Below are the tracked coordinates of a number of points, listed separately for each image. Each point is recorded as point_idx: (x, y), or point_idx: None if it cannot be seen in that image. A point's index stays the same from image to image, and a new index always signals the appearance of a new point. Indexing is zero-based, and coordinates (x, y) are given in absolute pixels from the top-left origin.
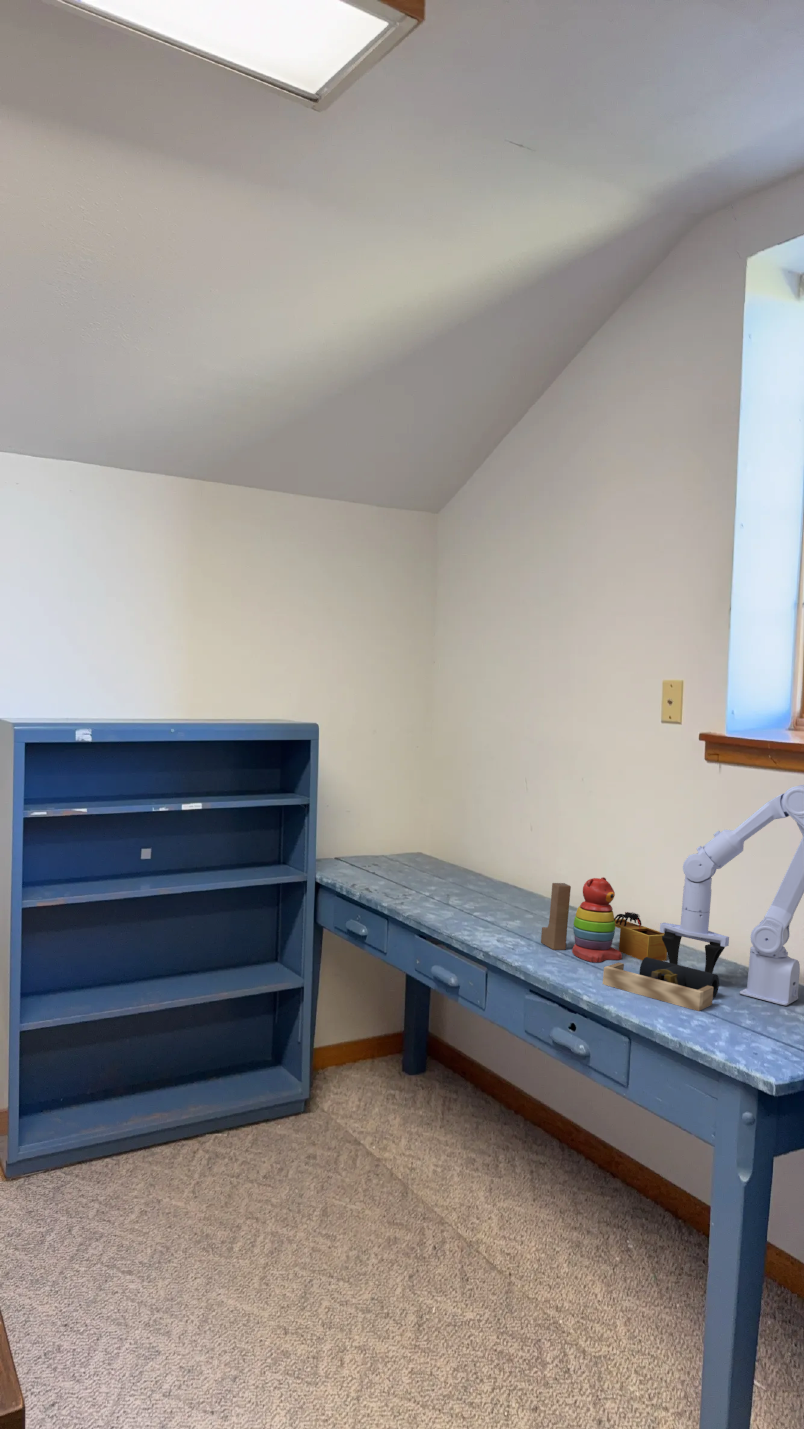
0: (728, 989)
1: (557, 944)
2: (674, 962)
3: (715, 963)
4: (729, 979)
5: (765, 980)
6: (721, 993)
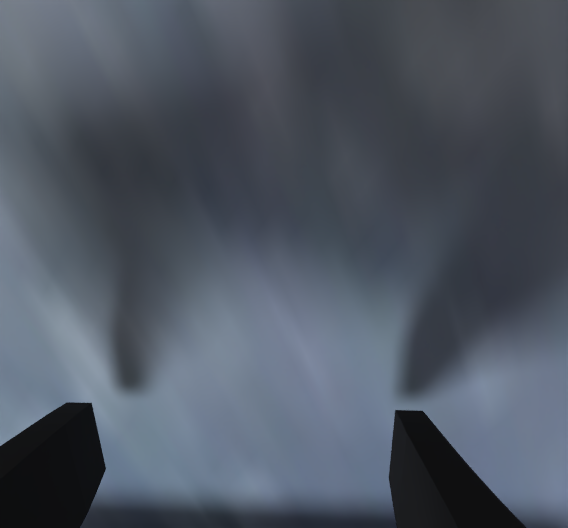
0: (560, 376)
1: None
2: (66, 504)
3: (516, 525)
4: (499, 17)
5: None
6: (534, 501)
